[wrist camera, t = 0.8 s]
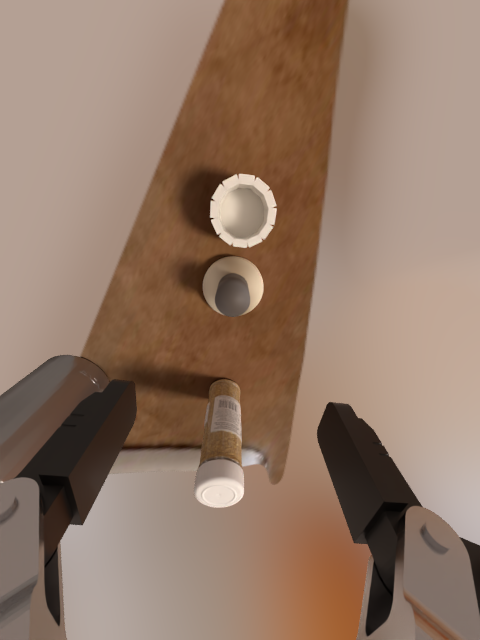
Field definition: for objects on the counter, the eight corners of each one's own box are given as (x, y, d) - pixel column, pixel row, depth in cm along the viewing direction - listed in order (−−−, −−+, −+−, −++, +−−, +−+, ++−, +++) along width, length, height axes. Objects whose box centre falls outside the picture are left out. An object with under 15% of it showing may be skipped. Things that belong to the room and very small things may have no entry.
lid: (219, 321, 28) (216, 341, 23) (193, 271, 25) (183, 283, 21) (270, 299, 27) (278, 316, 22) (248, 245, 24) (251, 251, 20)
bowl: (228, 252, 24) (227, 257, 21) (203, 197, 22) (198, 194, 19) (278, 228, 23) (284, 230, 20) (257, 169, 21) (261, 161, 18)
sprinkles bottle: (203, 392, 32) (183, 499, 20) (221, 372, 31) (212, 473, 19) (228, 406, 34) (224, 515, 21) (247, 387, 32) (254, 492, 20)
